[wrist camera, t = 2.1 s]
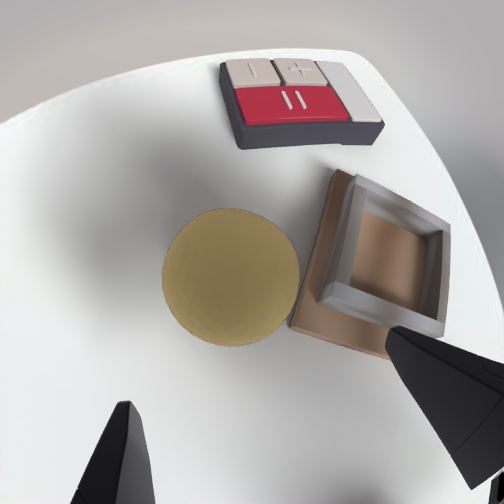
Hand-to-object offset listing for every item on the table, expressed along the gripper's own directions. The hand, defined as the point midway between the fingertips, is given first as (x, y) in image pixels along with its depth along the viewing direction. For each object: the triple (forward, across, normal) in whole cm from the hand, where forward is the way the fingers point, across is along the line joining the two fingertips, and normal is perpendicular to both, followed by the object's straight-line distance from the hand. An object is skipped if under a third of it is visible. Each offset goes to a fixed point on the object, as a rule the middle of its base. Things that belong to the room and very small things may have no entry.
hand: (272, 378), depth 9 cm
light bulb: (+11, 0, +5) cm, 12 cm away
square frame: (+11, -13, +5) cm, 18 cm away
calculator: (+24, -12, -8) cm, 28 cm away
